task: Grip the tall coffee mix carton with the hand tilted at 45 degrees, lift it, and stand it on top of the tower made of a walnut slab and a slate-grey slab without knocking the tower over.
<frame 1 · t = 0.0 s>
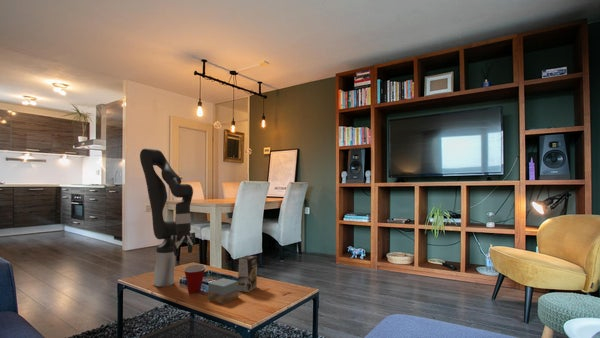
hand: (183, 254, 162), 17 cm above the table, tool pointing down, fingers open, 8 cm apart
tower base: (222, 299, 147), on the table
tower top: (223, 290, 148), point 3 cm above the table
plastic cup: (194, 291, 156), on the table
coffee box: (247, 289, 162), on the table
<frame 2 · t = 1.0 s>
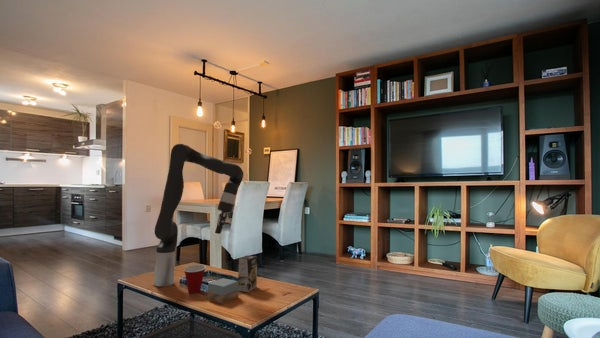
hand: (217, 233, 159), 29 cm above the table, tool tilted 20°, fingers open, 8 cm apart
nothing on the table moved.
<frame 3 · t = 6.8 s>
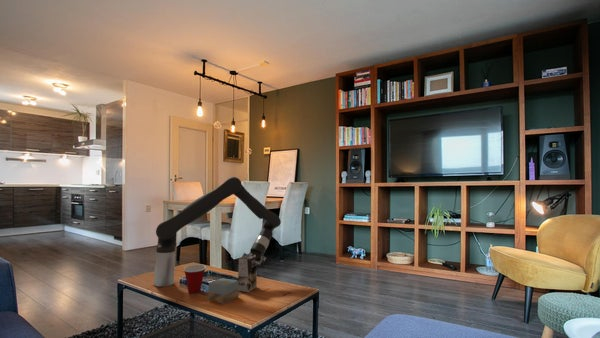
hand: (246, 272, 161), 9 cm above the table, tool tilted 45°, fingers closed on coffee box, 7 cm apart
tower base: (223, 299, 147), on the table, touching tower top
tower top: (223, 290, 147), point 4 cm above the table, touching tower base
coffee box: (247, 289, 162), on the table, touching gripper
everything else where it was.
when the fingers open (18 cm above the table, at t = 12.6 s): coffee box drops 2 cm, resting on tower top.
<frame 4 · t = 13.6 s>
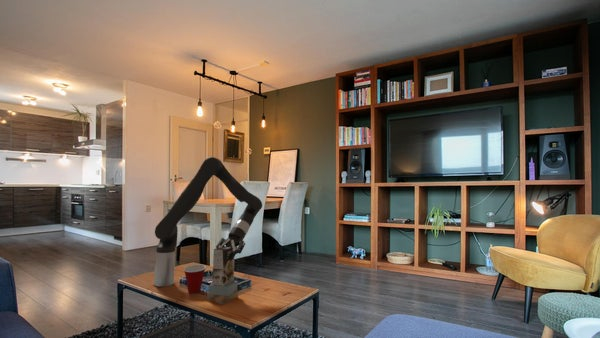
hand: (222, 258, 148), 19 cm above the table, tool tilted 45°, fingers open, 8 cm apart
tower top: (223, 291, 147), point 3 cm above the table, touching coffee box, tower base
coffee box: (223, 283, 148), point 7 cm above the table, touching tower top
everything else where it was.
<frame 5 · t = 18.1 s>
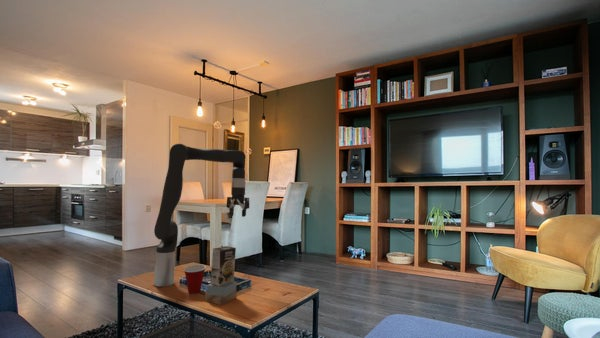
hand: (237, 216, 174), 36 cm above the table, tool pointing down, fingers open, 8 cm apart
tower top: (221, 292, 146), point 3 cm above the table, touching coffee box, tower base
at the end: coffee box inside the target area on the tower top (0.7 cm from its centre), point 4.0 cm above the tower top's base; coffee box tilted 3°; tower top 0.7 cm off-centre on the tower base, point 4.0 cm above the tower base's base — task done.
